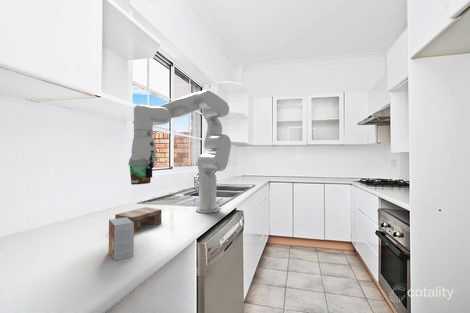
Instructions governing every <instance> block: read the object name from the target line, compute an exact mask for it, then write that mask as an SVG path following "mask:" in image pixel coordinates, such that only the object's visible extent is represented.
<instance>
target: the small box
mask: <svg viewBox="0 0 470 313" xmlns="http://www.w3.org/2000/svg"><path fill="white" fill-rule="evenodd" d="M134 233H135V232H134V223H133V222H132V221H131V220H130V219H128V217H125V218H117V219H115V218H111V219H110V218H109V219H108V253H109V254H110V257H111V258H112V260H113V261H114V262H115V261H116V262H117V261H119V260H122V259H128V258H131V257H134V249H135V247H134V246H135V245H134V243H135V241H134V240H135V239H134V237H135V234H134Z"/></svg>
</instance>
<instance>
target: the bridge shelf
mask: <svg viewBox="0 0 470 313" xmlns="http://www.w3.org/2000/svg"><path fill="white" fill-rule="evenodd" d="M162 211H163V210H162V209H161V208H153V207H147V206H144V207H141V208H138V209H137V208H136V209H133V210H129V211H125V212H124V211H123V212H120V213H115V215H114V216H115V217H114V219H117V218H125V217H128V219H130V220H131V221H132V222H133V223H134V233H135V232H138V231H141V223H142V224H147V225H152V226H156V225H159V224H162Z"/></svg>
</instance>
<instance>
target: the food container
mask: <svg viewBox="0 0 470 313" xmlns="http://www.w3.org/2000/svg"><path fill="white" fill-rule="evenodd" d="M149 161H150V160H149ZM150 163H151V162H149V164H150ZM146 165H147V161H145V160H128V166H129V173H130V182H131V183H130V184H131V185H133V186H134V185H147V184H150V183H151V179H152V178H146V168H147V167H146Z"/></svg>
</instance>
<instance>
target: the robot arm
mask: <svg viewBox="0 0 470 313" xmlns="http://www.w3.org/2000/svg"><path fill="white" fill-rule="evenodd" d="M200 109H201V114H202V116H203V117H204V119H205V121H206V124H207V127H206V133H205V138H204V142H203V147H204V150H205V151H207V152H209V153H206V152H205V153H202V154H200V155H199V156H198V158H197V162H196V164H197V169H198V207H196V208H195V212H197V213H201V214H214V213H217V212H219V211H220V209H219V207H217V206H219V205H220V201H218V200H217V176H216V172H223V171H225V170H226V169H227V166H228V162H229V158H230V153H231V148H232V141H231V138H230V137H229V136H228V135H227V134H222V132H223V125H222V122H221V121H220V119H219V118H223V117H226V116H227V115H228V114H229V113H230V106H229V104H228V103H227V101H226V100H224V99H223V98H222V97H220V96H219V95H218V94H216V93H214V92H213V91H211V90H209V89H208V90H207V89H206V90H201V91H198V92H197V91H196V92H194V93H191V94H188V95H185V96H182V97H180V98H177V99H176V98H175V99H174V100H170V101H168V102H166V103H162V104H161V105H157V106H149V105H145V104H138V105H137V104H136V105H134V108H133V138H132V144H131V156H130V158H129V160H145V161H147V165H146V167H147V168H146V178H151V179H152V178H153V169H154V167H155V165H156V163H157V162H158V161H159V159H158V157H157V149H156V148H157V147H156V141H155V138H153V136H154V134H155V133H154V131H153V126H161V125H166V124H168V123H170V122H171V120H172V119H174V118H175V119H176V118H181V117H184V116H186V115H189V114H192V113H193V112H196V111H199V110H200ZM211 152H213V153H211ZM129 160H128V161H129ZM149 160H150V161H149ZM149 162H151V163H150V164H149Z"/></svg>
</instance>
